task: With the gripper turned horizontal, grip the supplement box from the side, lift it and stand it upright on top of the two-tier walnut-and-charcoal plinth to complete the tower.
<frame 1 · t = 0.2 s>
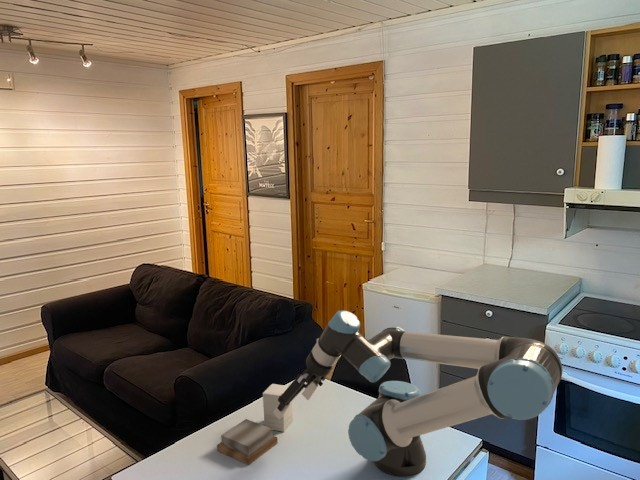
hand: (291, 405, 144), 15 cm above the table, tool tilted 35°, fingers open, 13 cm apart
tower plinth: (247, 447, 149), on the table
supplement box: (278, 425, 162), on the table
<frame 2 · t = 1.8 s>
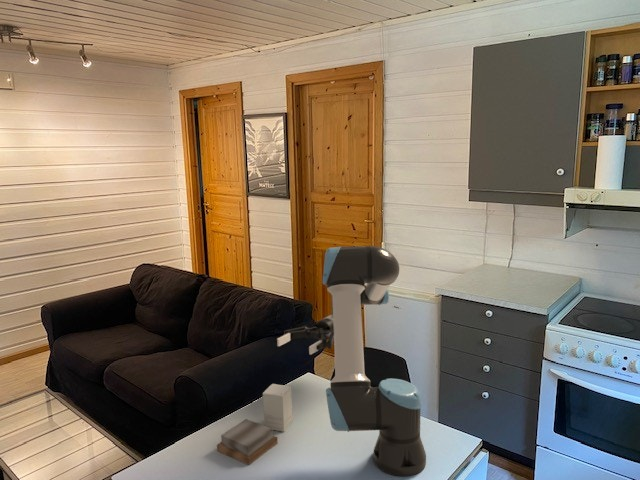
hand: (293, 346, 165), 24 cm above the table, tool horizontal, fingers open, 13 cm apart
nothing on the table moved.
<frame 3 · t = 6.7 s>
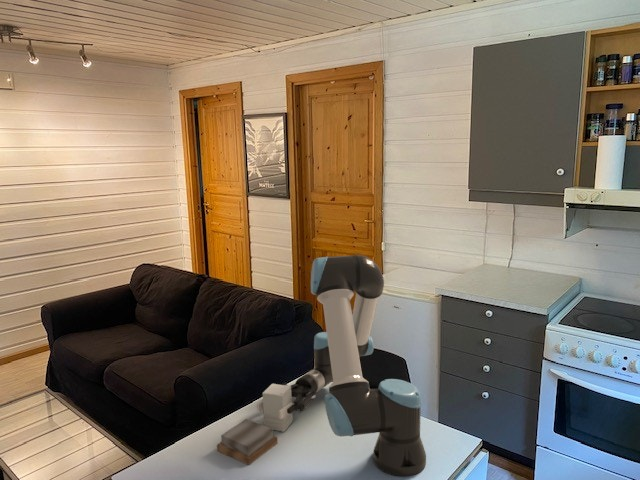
hand: (268, 411, 157), 7 cm above the table, tool horizontal, fingers closed on supplement box, 8 cm apart
supplement box: (278, 425, 162), on the table, touching gripper
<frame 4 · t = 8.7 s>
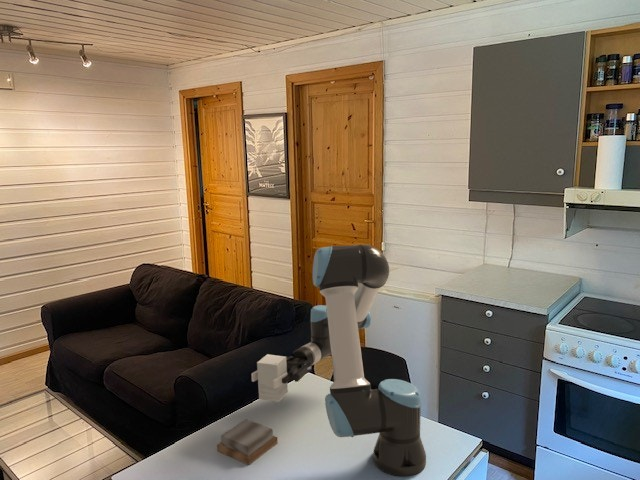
hand: (263, 381, 154), 18 cm above the table, tool horizontal, fingers closed on supplement box, 8 cm apart
supplement box: (273, 396, 159), point 11 cm above the table, touching gripper
when the fingers open (13 cm above the table, at t = 11.1 s): supplement box drops 1 cm, resting on tower plinth.
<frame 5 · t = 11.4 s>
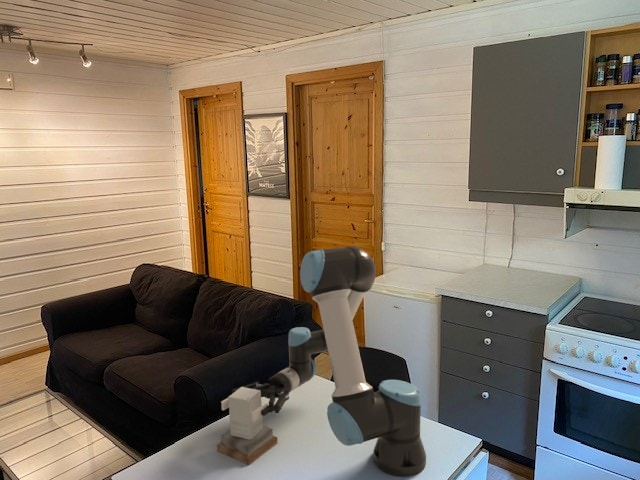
hand: (236, 411, 144), 13 cm above the table, tool horizontal, fingers open, 11 cm apart
supplement box: (246, 432, 148), point 5 cm above the table, touching tower plinth
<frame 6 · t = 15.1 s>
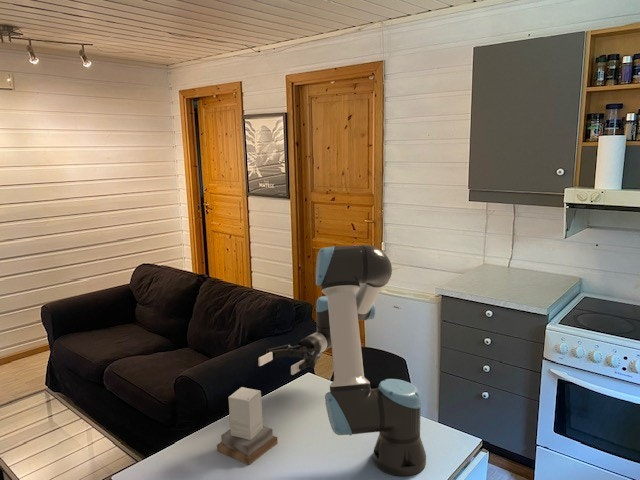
hand: (275, 366, 158), 21 cm above the table, tool horizontal, fingers open, 13 cm apart
nothing on the table moved.
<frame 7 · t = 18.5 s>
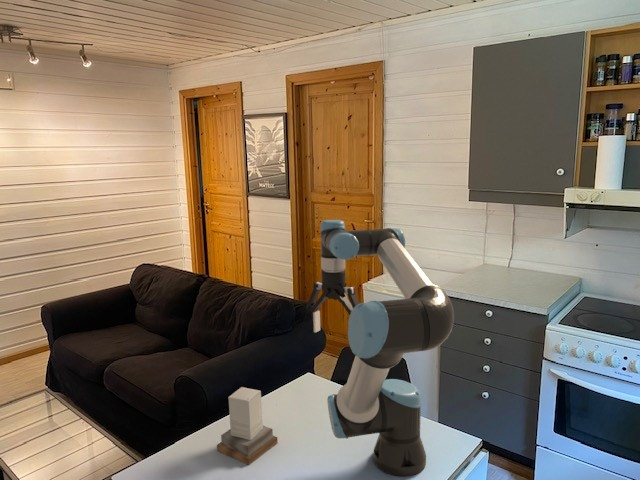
hand: (334, 335, 154), 32 cm above the table, tool pointing down, fingers open, 13 cm apart
nothing on the table moved.
at the end: supplement box inside the target area on the tower plinth (0.0 cm from its centre), point 4.8 cm above the tower plinth's base; supplement box tilted 0°; the gripper is holding nothing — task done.
